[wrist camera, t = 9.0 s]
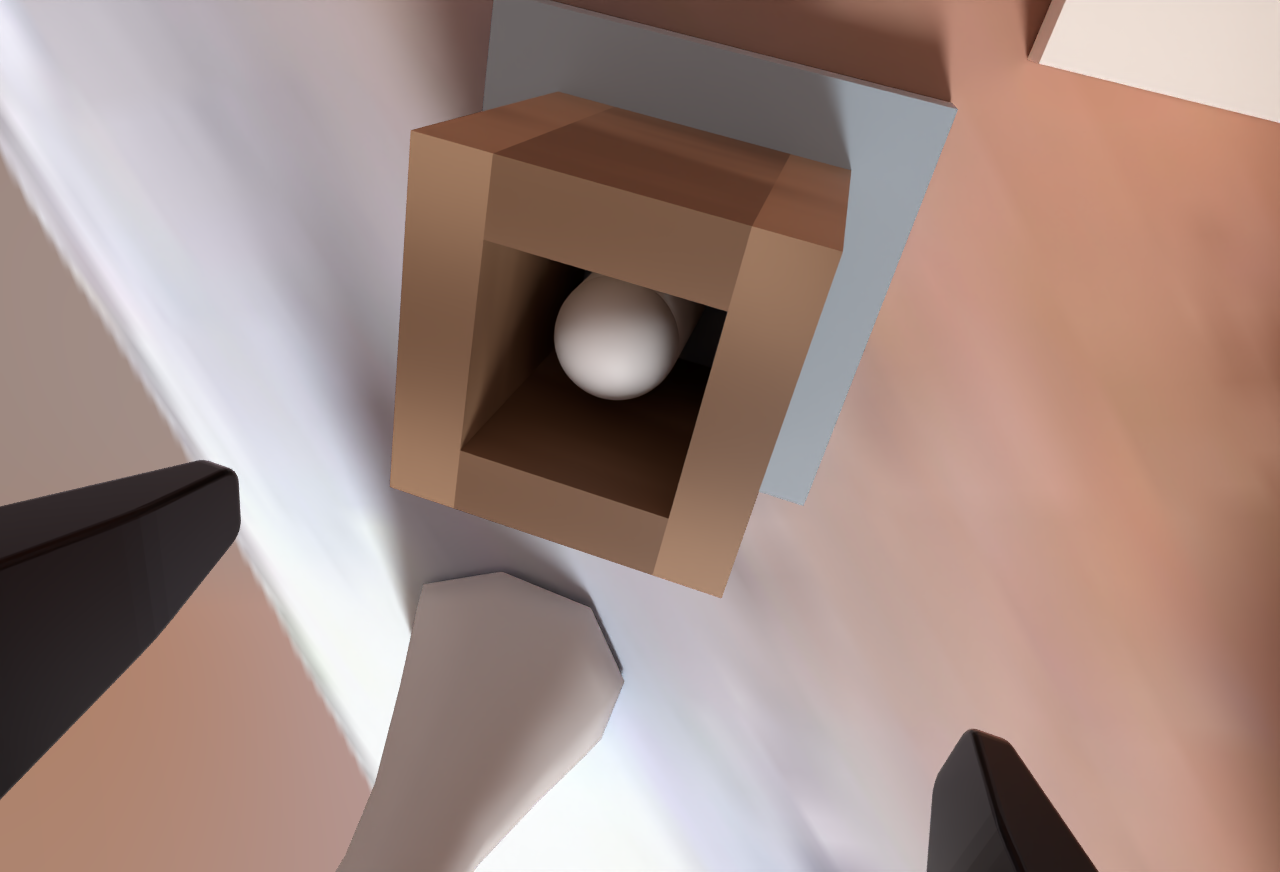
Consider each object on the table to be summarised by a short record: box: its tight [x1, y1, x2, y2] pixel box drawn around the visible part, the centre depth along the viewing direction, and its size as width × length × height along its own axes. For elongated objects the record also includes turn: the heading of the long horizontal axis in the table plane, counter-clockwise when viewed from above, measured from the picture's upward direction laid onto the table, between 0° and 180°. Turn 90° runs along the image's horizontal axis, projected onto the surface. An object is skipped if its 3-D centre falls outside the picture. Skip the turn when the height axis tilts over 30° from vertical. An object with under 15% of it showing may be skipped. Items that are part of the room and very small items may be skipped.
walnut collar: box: [390, 92, 851, 598], centre depth 15 cm, size 6×6×6 cm
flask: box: [336, 572, 624, 872], centre depth 21 cm, size 7×7×10 cm
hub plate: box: [482, 0, 958, 506], centre depth 16 cm, size 9×9×6 cm
